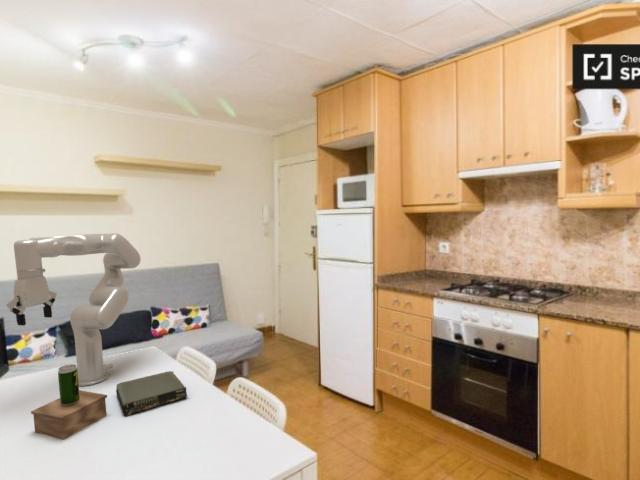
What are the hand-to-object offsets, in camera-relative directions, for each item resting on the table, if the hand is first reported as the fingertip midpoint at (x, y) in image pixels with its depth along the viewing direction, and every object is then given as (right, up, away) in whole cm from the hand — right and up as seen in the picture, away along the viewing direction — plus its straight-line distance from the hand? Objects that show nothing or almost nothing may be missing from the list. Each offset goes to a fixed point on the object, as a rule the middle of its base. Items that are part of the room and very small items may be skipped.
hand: (35, 321), depth 143 cm
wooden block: (+21, -31, -12) cm, 40 cm away
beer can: (+21, -25, -13) cm, 34 cm away
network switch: (+40, -30, +5) cm, 50 cm away
